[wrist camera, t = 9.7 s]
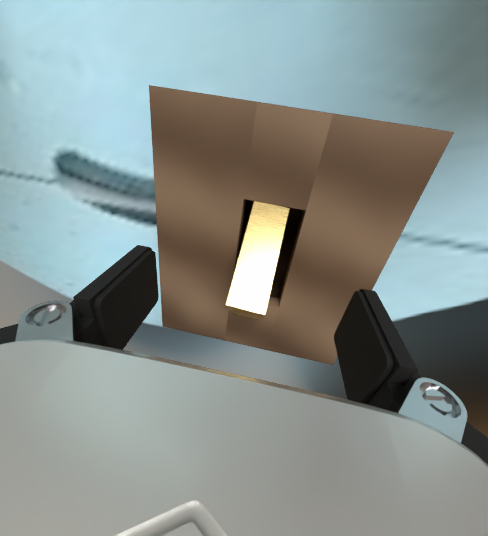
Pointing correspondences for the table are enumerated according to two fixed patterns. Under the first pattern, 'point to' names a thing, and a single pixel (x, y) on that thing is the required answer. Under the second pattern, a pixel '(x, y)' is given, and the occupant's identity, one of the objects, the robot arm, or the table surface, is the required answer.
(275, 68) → the table surface
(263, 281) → the golden flat plank
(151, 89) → the coin box
